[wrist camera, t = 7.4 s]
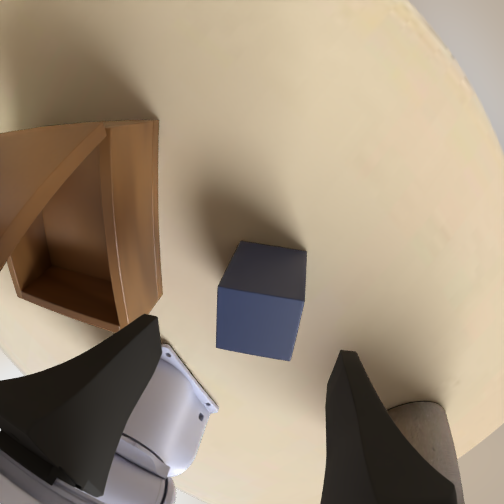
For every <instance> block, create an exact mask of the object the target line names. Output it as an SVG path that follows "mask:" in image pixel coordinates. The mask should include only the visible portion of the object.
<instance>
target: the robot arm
mask: <svg viewBox="0 0 504 504" xmlns="http://www.w3.org/2000/svg"><path fill="white" fill-rule="evenodd" d="M325 407H326V450H327V455H326V469H325V477H324V485H323V491H322V498H321V504H457V494H456V489H455V485H454V484H453V483H452V482H451V481H449V480H448V479H447V478H446V477H444V476H443V475H442V474H441V473H439V472H438V471H437V470H436V469H435V468H434V467H432V466H431V465H430V464H429V463H428V462H427V461H426V460H425V459H424V458H423V457H422V456H421V455H420V454H419V453H418V451H417V450H416V449H415V448H414V447H413V446H412V445H411V444H410V443H409V441H408V440H407V439H406V438H405V436H404V435H403V434H402V432H401V431H400V430H399V428H398V427H397V426H396V424H395V423H394V421H393V420H392V418H391V417H390V415H389V414H388V412H387V410H386V409H385V407H384V405H383V404H382V402H381V400H380V398H379V397H378V395H377V393H376V391H375V389H374V387H373V385H372V384H371V382H370V380H369V378H368V376H367V374H366V371H365V369H364V367H363V365H362V363H361V361H360V359H359V356H358V354H357V353H356V352H355V351H346V350H340V353H339V355H338V358H337V361H336V363H335V366H334V368H333V371H332V374H331V376H330V379H329V381H328V384H327V394H326V406H325ZM218 410H219V408H218V406H217V405H216V404H215V403H214V402H213V400H212V399H211V398H210V397H209V396H208V394H207V393H206V392H205V391H204V390H203V388H202V387H201V386H200V385H199V383H198V382H197V381H196V380H195V378H194V377H193V376H192V374H191V373H190V372H189V371H188V369H187V368H186V367H185V365H184V364H183V363H182V361H181V360H180V359H179V357H178V356H177V355H176V353H175V352H174V351H173V349H172V348H171V347H170V346H169V345H168V344H161V340H160V332H159V325H158V317H156V316H152V315H148V314H143V315H141V316H140V317H138V318H137V319H135V320H134V321H132V322H131V323H130V324H128V325H127V326H125V327H124V328H122V329H121V330H119V331H118V332H116V333H115V334H114V335H112V336H111V337H109V338H108V339H106V340H104V341H103V342H101V343H100V344H98V345H96V346H95V347H93V348H91V349H90V350H88V351H86V352H84V353H83V354H81V355H79V356H77V357H75V358H73V359H71V360H69V361H66V362H64V363H62V364H59V365H57V366H54V367H52V368H49V369H46V370H44V371H41V372H38V373H34V374H31V375H27V376H23V377H19V378H13V379H8V380H2V381H0V428H1V431H0V504H175V500H176V488H175V486H174V482H173V480H172V478H170V477H174V476H177V475H179V474H181V473H183V472H184V471H185V470H186V469H187V468H188V467H189V466H190V465H191V464H192V462H193V461H194V459H195V457H196V454H197V451H198V448H199V445H200V442H201V440H202V437H203V434H204V431H205V428H206V425H207V422H208V419H209V416H210V413H217V412H218Z"/></svg>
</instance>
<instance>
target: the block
mask: <svg viewBox="0 0 504 504" xmlns="http://www.w3.org/2000/svg"><path fill="white" fill-rule="evenodd" d="M306 263H307V251H302V250H295V249H289V248H283V247H276V246H270V245H264V244H257V243H251V242H244V241H240V243H239V245H238V247H237V249H236V251H235V253H234V255H233V257H232V259H231V261H230V263H229V265H228V267H227V269H226V271H225V273H224V275H223V277H222V279H221V281H220V283H219V285H218V292H217V325H216V348H220V349H224V350H229V351H234V352H240V353H245V354H250V355H256V356H261V357H267V358H273V359H279V360H285V361H290V360H291V357H292V353H293V349H294V345H295V341H296V337H297V332H298V328H299V324H300V320H301V315H302V311H303V306H304V302H305V285H306Z"/></svg>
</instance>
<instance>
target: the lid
mask: <svg viewBox="0 0 504 504" xmlns="http://www.w3.org/2000/svg"><path fill="white" fill-rule="evenodd" d="M106 136H107V134H106V131H105V127H104V123H103V122H88V123H75V124H64V125H55V126H46V127H38V128H31V129H24V130H17V131H11V132H5V133H0V271H1V270H2V268H3V266H4V265H5V263H6V261H7V260H8V258H9V257H10V255H11V254H12V252H13V250H14V249H15V247H16V246H17V244H18V243H19V241H20V240H21V238H22V237H23V236H24V234H25V233H26V231H27V230H28V228H29V227H30V226H31V224H32V223H33V221H34V220H35V219H36V217H37V216H38V215H39V213H40V212H41V211H42V209H43V208H44V207H45V205H46V204H47V203H48V202H49V200H50V199H51V198H52V197H53V195H54V194H55V193H56V192H57V190H58V189H59V188H60V187H61V185H62V184H63V183H64V182H65V181H66V180H67V178H68V177H69V176H70V175H71V174H72V173H73V171H74V170H75V169H76V168H77V167H78V166H79V165H80V164H81V162H82V161H83V160H84V159H85V158H86V157H87V156H88V155H89V154H90V153H91V152H92V151H93V149H94V148H95V147H96V146H97V145H98V144H99V143H100V142H101V141H102V140H103V139H104V138H105V137H106Z"/></svg>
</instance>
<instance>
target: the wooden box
mask: <svg viewBox="0 0 504 504" xmlns="http://www.w3.org/2000/svg"><path fill="white" fill-rule="evenodd" d="M98 122H103V123H104V127H105V131H106V134H107V136H106V137H105V138H104V139H103V140H102V141H101V142H100V143H99V144H98V145H97V146H96V147H95V148H94V149H93V151H92V152H91V153H90V154H89V155H88V156H87V157H86V158H85V159H84V160H83V161H82V162H81V164H80V165H79V166H78V167H77V168H76V169H75V170H74V171H73V173H72V174H71V175H70V176H69V177H68V178H67V180H66V181H65V182H64V183H63V184H62V185H61V187H60V188H59V189H58V190H57V192H56V193H55V194H54V195H53V197H52V198H51V199H50V200H49V202H48V203H47V204H46V205H45V207H44V208H43V209H42V211H41V212H40V213H39V215H38V216H37V217H36V219H35V220H34V221H33V223H32V224H31V226H30V227H29V228H28V230H27V231H26V233H25V234H24V236H23V237H22V238H21V240H20V241H19V243H18V244H17V246H16V247H15V249H14V250H13V252H12V254H11V255H10V257H9V258H8V260H7V264H8V267H9V271H10V274H11V277H12V281H13V284H14V287H15V290H16V293H17V296H18V297H19V298H22V299H24V300H27V301H29V302H31V303H34V304H36V305H39V306H41V307H44V308H46V309H49V310H52V311H54V312H57V313H59V314H62V315H65V316H67V317H70V318H73V319H76V320H79V321H81V322H84V323H87V324H90V325H93V326H96V327H99V328H102V329H105V330H108V331H111V332H115V333H116V332H118V331H119V330H121V329H122V328H124V327H125V326H127V325H128V324H130V323H131V322H132V321H134V320H135V319H137V318H138V317H140V316H141V315H143V314H149V312H150V311H151V310H152V308H153V307H154V306H155V304H156V303H157V301H158V300H159V299H160V297H161V296H162V295H163V291H162V278H161V263H160V245H159V219H158V135H159V120H118V121H98ZM83 123H88V122H83ZM71 124H75V123H71ZM61 125H64V124H61ZM52 126H55V125H52ZM43 127H46V126H43ZM36 128H38V127H36Z"/></svg>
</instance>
